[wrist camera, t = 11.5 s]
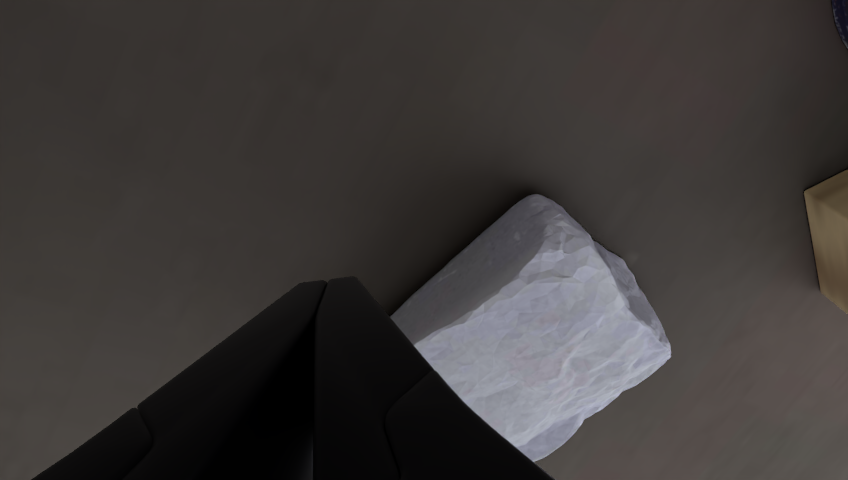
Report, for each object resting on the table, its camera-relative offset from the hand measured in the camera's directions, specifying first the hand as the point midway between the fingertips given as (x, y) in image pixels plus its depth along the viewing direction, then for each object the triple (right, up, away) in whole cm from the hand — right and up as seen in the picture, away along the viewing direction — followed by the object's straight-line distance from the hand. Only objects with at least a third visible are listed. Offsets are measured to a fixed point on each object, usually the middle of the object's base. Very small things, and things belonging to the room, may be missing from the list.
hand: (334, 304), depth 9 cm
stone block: (+4, -3, +17) cm, 18 cm away
